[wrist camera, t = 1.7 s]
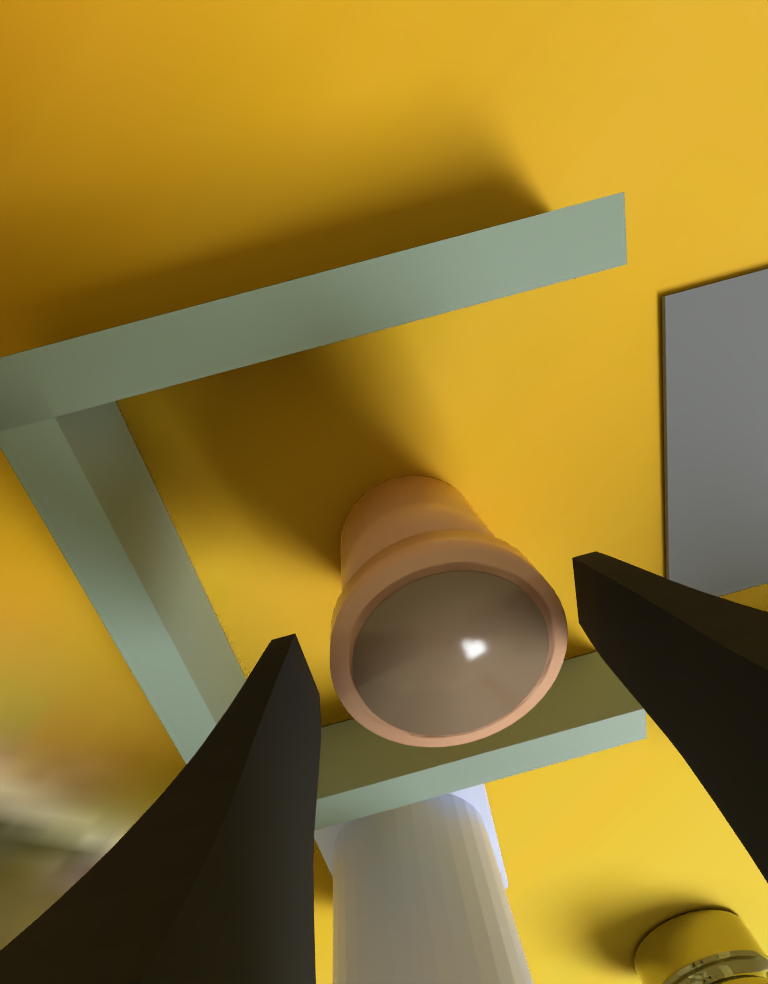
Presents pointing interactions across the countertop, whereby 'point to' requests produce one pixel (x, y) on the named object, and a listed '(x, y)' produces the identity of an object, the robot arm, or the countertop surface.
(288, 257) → the countertop surface
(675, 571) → the rubber mat
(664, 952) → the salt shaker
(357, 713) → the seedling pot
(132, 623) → the green u-shaped frame
